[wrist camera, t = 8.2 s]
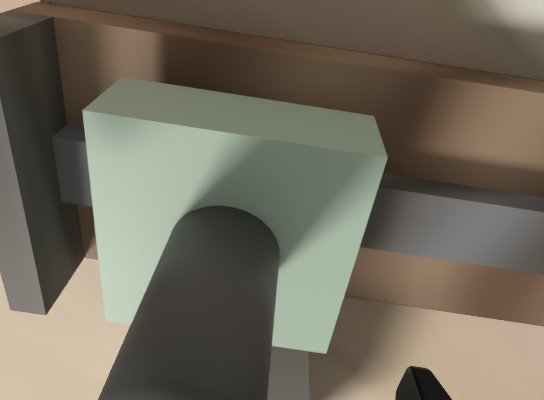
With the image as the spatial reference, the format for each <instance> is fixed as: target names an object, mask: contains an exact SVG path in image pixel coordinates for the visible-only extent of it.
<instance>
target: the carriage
mask: <svg viewBox="0 0 544 400" xmlns="http://www.w3.org/2000/svg"><path fill="white" fill-rule="evenodd" d="M82 111H83V121H84V130H85V139H86V149H87V158H88V168H89V177H90V186H91V196H92V205H93V215H94V224H95V233H96V243H97V252H98V262H99V271H100V280H101V290H102V299H103V309H104V318H105V321H107V322H114V323H120V324H127V325H131V326H130V328H129V330H128V332H127V335H126V337H125V339H124V342H123V344H122V346H121V348H120V351H119V353H118V355H117V358H116V360H115V362H114V364H113V367H112V369H111V371H110V373H109V376H108V378H107V380H106V383H105V385H104V387H103V389H102V392H101V394H100V396H99V399H98V400H267V396H268V385H269V373H270V362H271V350H272V346H276V347H283V348H290V349H297V350H303V351H310V352H317V353H324V354H326V353H327V350H328V347H329V343H330V340H331V337H332V334H333V331H334V327H335V324H336V321H337V318H338V315H339V311H340V308H341V305H342V302H343V299H344V295H345V292H346V289H347V286H348V283H349V280H350V276H351V273H352V270H353V267H354V264H355V260H356V257H357V254H358V251H359V248H360V244H361V241H362V238H363V235H364V232H365V228H366V225H367V222H368V219H369V216H370V213H371V209H372V206H373V203H374V200H375V197H376V193H377V190H378V187H379V184H380V181H381V177H382V174H383V171H384V168H385V165H386V161H387V158H388V157H387V153H386V150H385V147H384V144H383V141H382V138H381V135H380V132H379V129H378V126H377V123H376V120H375V117H374V116H371V115H364V114H358V113H352V112H345V111H339V110H332V109H326V108H319V107H313V106H307V105H300V104H294V103H287V102H281V101H274V100H268V99H261V98H255V97H249V96H242V95H236V94H229V93H223V92H216V91H210V90H204V89H197V88H191V87H184V86H178V85H171V84H165V83H158V82H152V81H146V80H139V79H133V78H126V77H121V78H120V79H119V80H118V81H116V82H115V83H114V84H113V85H112V86H111V87H109V88H108V89H107V90H106V91H105V92H103V93H102V94H101V95H100V96H99V97H98V98H96V99H95V100H94V101H93V102H92V103H90V104H89V105H88V106H87V107H86V108H85V109H83V110H82Z"/></svg>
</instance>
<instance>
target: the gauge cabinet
mask: <svg viewBox="0 0 544 400" xmlns="http://www.w3.org/2000/svg"><path fill="white" fill-rule="evenodd" d="M267 400H309V351H303V350H297V349H290V348H283V347H276V346H272V350H271V362H270V373H269V385H268V396H267Z"/></svg>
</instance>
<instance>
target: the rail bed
mask: <svg viewBox="0 0 544 400" xmlns="http://www.w3.org/2000/svg"><path fill="white" fill-rule="evenodd" d="M121 77H126V78H133V79H139V80H146V81H152V82H158V83H165V84H171V85H178V86H184V87H191V88H197V89H204V90H210V91H216V92H223V93H229V94H236V95H242V96H249V97H255V98H261V99H268V100H274V101H281V102H287V103H294V104H300V105H307V106H313V107H319V108H326V109H332V110H339V111H345V112H352V113H358V114H364V115H371V116H374V117H375V120H376V123H377V126H378V129H379V132H380V135H381V138H382V141H383V144H384V147H385V150H386V153H387V157H388V158H387V161H386V165H385V168H384V171H383V174H382V177H381V181H380V184H379V187H378V190H377V193H376V197H375V200H374V203H373V206H372V209H371V213H370V216H369V219H368V222H367V225H366V228H365V232H364V235H363V238H362V241H361V244H360V248H359V251H358V254H357V257H356V260H355V264H354V267H353V270H352V273H351V276H350V280H349V283H348V286H347V289H346V292H345V295H344V296H345V297H351V298H358V299H365V300H371V301H378V302H385V303H391V304H398V305H405V306H411V307H418V308H425V309H432V310H438V311H445V312H452V313H458V314H465V315H472V316H478V317H485V318H492V319H498V320H505V321H512V322H518V323H525V324H532V325H539V326H544V81H540V80H534V79H527V78H521V77H515V76H508V75H502V74H495V73H489V72H483V71H476V70H470V69H464V68H457V67H451V66H445V65H438V64H432V63H426V62H419V61H413V60H406V59H400V58H394V57H387V56H381V55H375V54H368V53H362V52H356V51H349V50H343V49H336V48H330V47H324V46H317V45H311V44H305V43H298V42H292V41H286V40H279V39H273V38H267V37H260V36H254V35H247V34H241V33H235V32H228V31H222V30H216V29H209V28H203V27H197V26H190V25H184V24H177V23H171V22H165V21H158V20H152V19H146V18H139V17H133V16H127V15H120V14H114V13H108V12H101V11H95V10H88V9H82V8H76V7H69V6H63V5H57V4H50V3H44V2H36V3H32V4H29V5H26V6H23V7H19V8H16V9H13V10H10V11H6V12H3V13H0V273H1V276H2V280H3V284H4V288H5V291H6V295H7V299H8V302H9V306H10V310H14V311H21V312H28V313H34V314H41V315H47V313H48V312H49V310H50V309H51V307H52V306H53V304H54V302H55V301H56V299H57V298H58V296H59V295H60V293H61V292H62V290H63V289H64V287H65V286H66V284H67V283H68V281H69V280H70V278H71V277H72V275H73V274H74V272H75V271H76V269H77V268H78V266H79V265H80V263H81V262H82V260H83V259H84V258H90V259H97V260H98V252H97V243H96V233H95V224H94V215H93V205H92V196H91V186H90V177H89V168H88V158H87V149H86V139H85V130H84V121H83V111H82V110H83V109H85V108H86V107H87V106H88V105H89V104H90V103H92V102H93V101H94V100H95V99H96V98H98V97H99V96H100V95H101V94H102V93H103V92H105V91H106V90H107V89H108V88H109V87H111V86H112V85H113V84H114V83H115V82H116V81H118V80H119V79H120V78H121Z"/></svg>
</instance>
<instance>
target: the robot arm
mask: <svg viewBox="0 0 544 400" xmlns="http://www.w3.org/2000/svg"><path fill="white" fill-rule="evenodd" d="M396 400H452V399H451V398H450V396H449V395H448V394H447V392H446V391H445V389H444V388H443V387H442V385H441V384H440V383H439V381H438V380H437V379H436V377H435V376H434V375H433V373H432V372H431V371H430V370H429V369H427V368H422V367H415V366H410V367H408V368H407V369H406V371H405V373H404V375H403V377H402V379H401V381H400V384H399V386H398V388H397V391H396Z"/></svg>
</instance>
